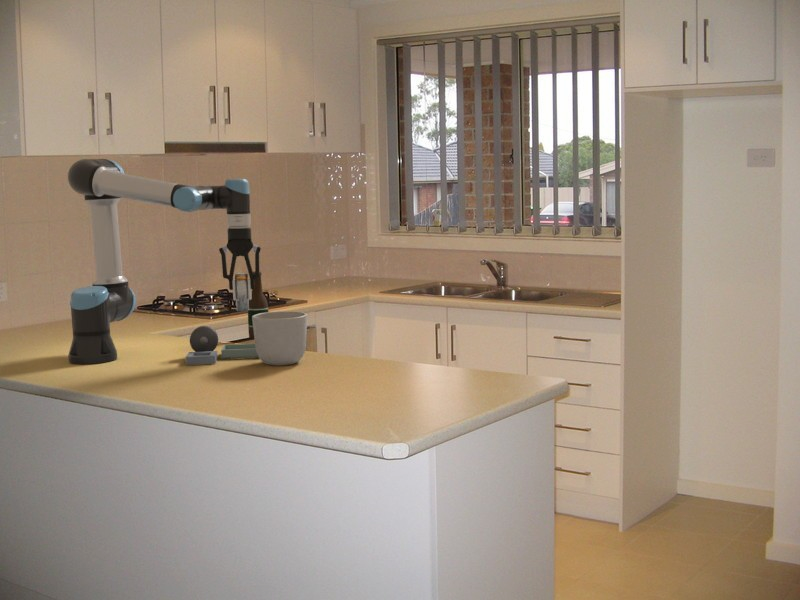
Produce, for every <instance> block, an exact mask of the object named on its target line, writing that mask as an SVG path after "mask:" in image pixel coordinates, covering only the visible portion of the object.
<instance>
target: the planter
mask: <svg viewBox="0 0 800 600" xmlns="http://www.w3.org/2000/svg"><path fill="white" fill-rule="evenodd" d="M252 321H253V330H254V339H253V340H254V344H255V347H256V352H257V354H258V357H259V358H258V359H259V360H260V361H261V362H263V363H264V364H266V365H269V366H274V367H275V366H279V367H280V366H289V365H290V366H291V365H294V364H296V363H298V362H299V361H300V360H301V359H302V358H303V357H304V355H305V352H306V348H307V332H308V331H307V329H308V328H307V326H308V314H307V313H306V312H303V311H295V310H292V311H289V310H287V311H286V310H283V311H280V310H278V311H268V312H266V313H259V314H255V315H253V316H252Z"/></svg>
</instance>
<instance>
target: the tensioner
mask: <svg viewBox="0 0 800 600" xmlns="http://www.w3.org/2000/svg"><path fill="white" fill-rule="evenodd" d="M218 343H219V335H218V333H217V331H216V330H215V329H214V328H213V327H211V326H208V325H200V326H198V327H196V328H194V330H193V331H192V333H191V334H190V336H189V345H190V347H191V349H192V350H193V351H189V352H188V353H187V354H186V356H185V365H186V366H195V365H196V364H201V365H215V364H216V363H217V361H218V359H219V358H218V350H216V348H217V346H218ZM217 358H218V359H217ZM214 363H215V364H214Z"/></svg>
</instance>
